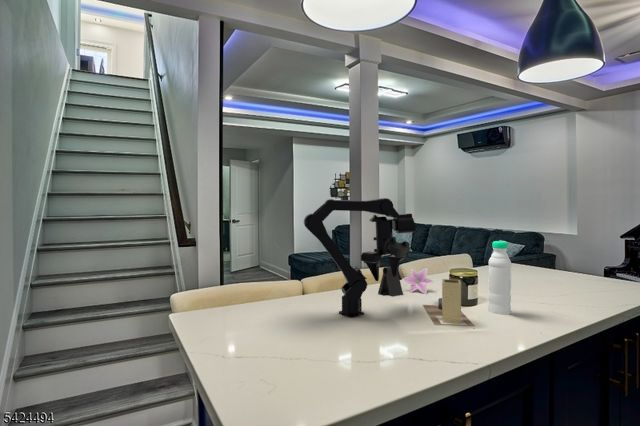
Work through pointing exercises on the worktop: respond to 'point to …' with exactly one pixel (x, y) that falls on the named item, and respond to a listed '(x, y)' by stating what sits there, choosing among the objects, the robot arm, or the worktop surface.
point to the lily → (418, 280)
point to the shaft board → (436, 314)
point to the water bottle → (499, 279)
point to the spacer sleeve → (451, 301)
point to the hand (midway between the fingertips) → (385, 278)
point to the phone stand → (390, 284)
